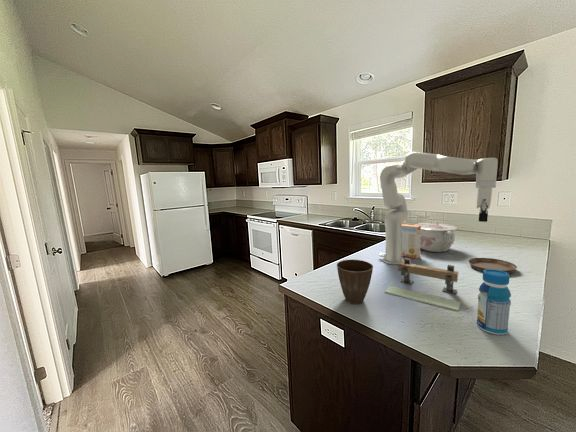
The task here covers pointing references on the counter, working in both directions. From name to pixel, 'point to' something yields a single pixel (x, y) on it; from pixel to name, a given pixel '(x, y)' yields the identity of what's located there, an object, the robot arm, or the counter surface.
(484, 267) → the plant saucer
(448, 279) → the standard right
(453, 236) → the chamber pot
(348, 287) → the plant pot
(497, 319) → the beverage bottle
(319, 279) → the counter surface
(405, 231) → the cracker box
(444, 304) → the board
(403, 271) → the bracket
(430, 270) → the rail
